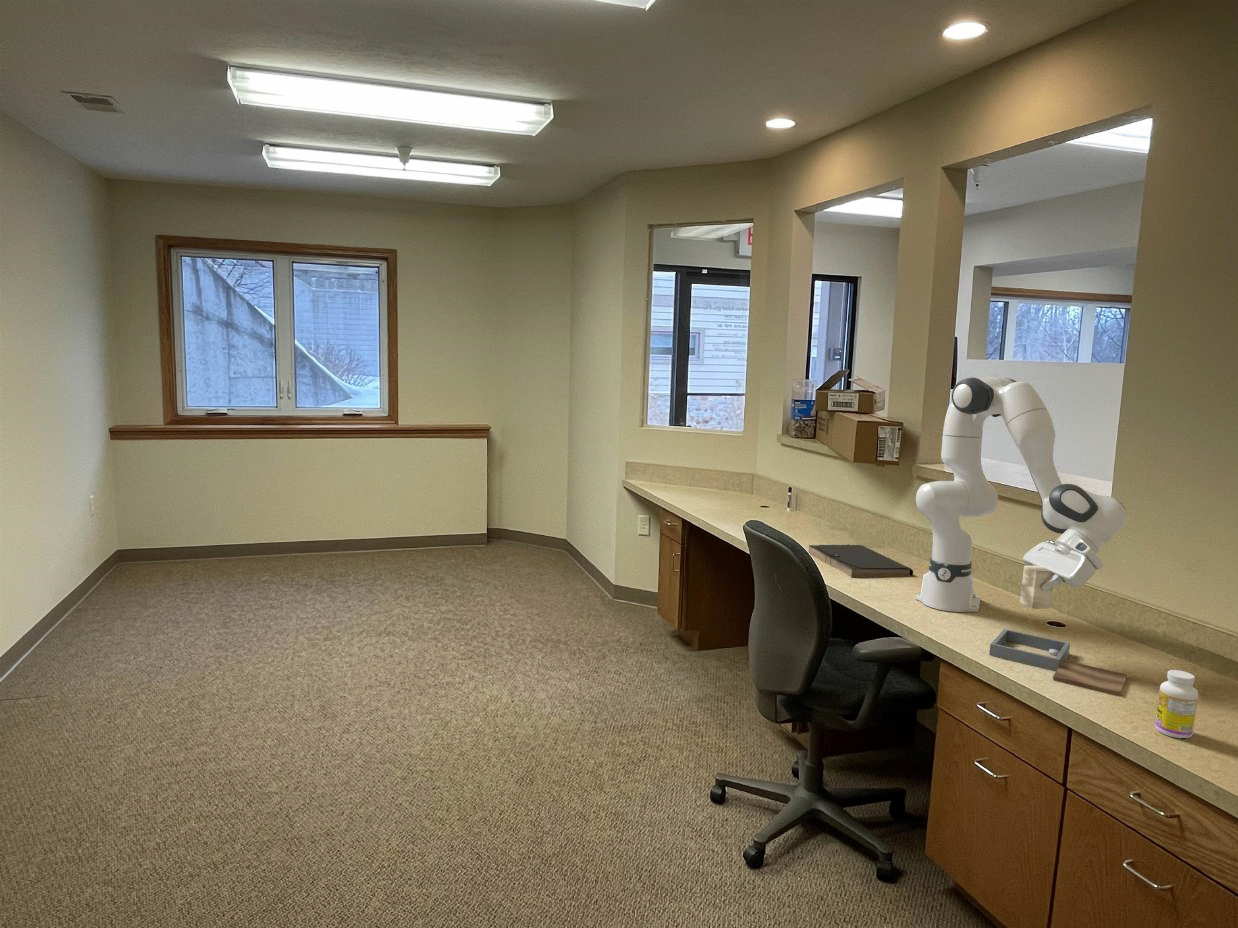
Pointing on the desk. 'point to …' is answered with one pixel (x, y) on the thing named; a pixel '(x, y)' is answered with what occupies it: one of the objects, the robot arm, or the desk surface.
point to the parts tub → (1043, 661)
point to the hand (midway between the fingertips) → (1034, 585)
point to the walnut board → (1090, 677)
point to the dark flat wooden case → (858, 561)
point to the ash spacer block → (1035, 587)
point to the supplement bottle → (1177, 705)
